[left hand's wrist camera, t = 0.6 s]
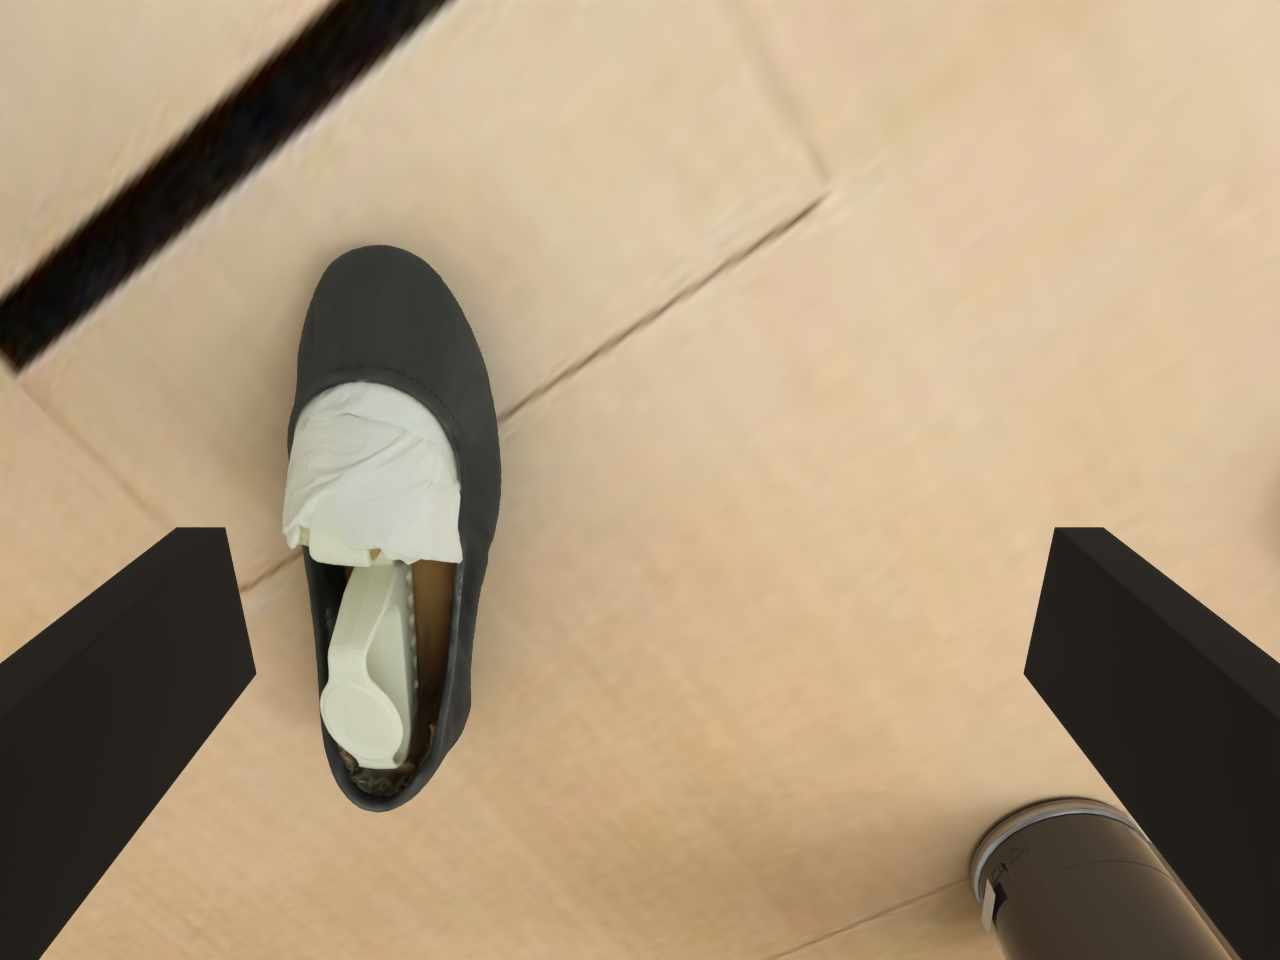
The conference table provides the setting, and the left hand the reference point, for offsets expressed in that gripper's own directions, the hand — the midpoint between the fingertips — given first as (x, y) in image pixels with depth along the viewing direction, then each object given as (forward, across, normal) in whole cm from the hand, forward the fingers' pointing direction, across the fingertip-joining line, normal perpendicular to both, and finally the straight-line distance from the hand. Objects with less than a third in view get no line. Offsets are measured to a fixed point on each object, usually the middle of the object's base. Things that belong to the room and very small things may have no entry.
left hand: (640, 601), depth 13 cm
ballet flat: (+21, -10, -8) cm, 25 cm away
